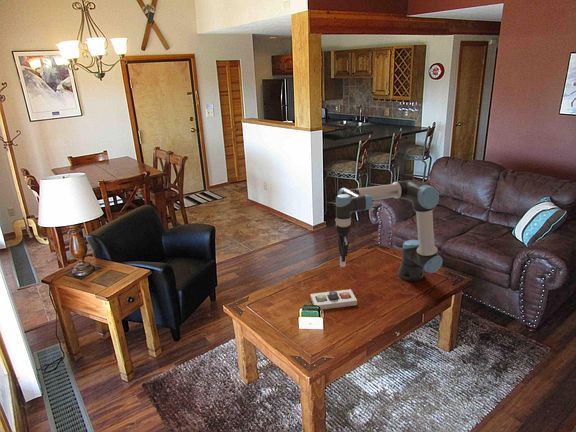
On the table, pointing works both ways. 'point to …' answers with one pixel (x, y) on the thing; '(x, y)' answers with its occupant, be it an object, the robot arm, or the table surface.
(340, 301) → the board
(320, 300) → the button sage
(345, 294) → the button terracotta
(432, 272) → the robot arm
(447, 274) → the table surface
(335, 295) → the button charcoal
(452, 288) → the table surface
